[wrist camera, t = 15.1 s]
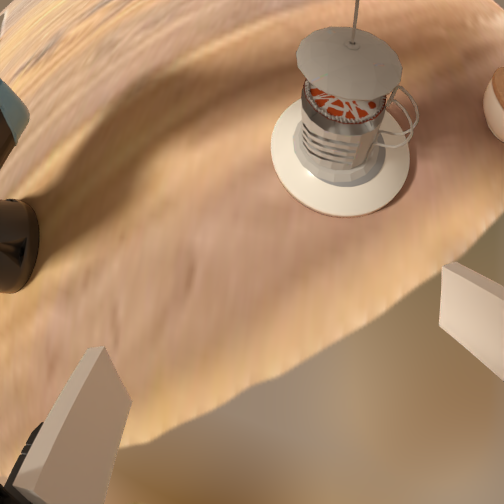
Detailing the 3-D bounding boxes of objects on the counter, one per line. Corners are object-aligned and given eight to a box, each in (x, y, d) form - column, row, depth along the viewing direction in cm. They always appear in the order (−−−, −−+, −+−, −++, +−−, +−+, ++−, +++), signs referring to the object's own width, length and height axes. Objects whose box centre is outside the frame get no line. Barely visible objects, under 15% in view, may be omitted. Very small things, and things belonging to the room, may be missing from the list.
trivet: (245, 138, 36) (243, 131, 34) (347, 80, 35) (348, 72, 34) (327, 246, 33) (328, 243, 31) (430, 171, 32) (435, 166, 30)
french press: (316, 95, 34) (313, -98, 9) (404, 139, 31) (488, -39, 7) (276, 156, 33) (227, -57, 9) (372, 207, 31) (485, 22, 6)
